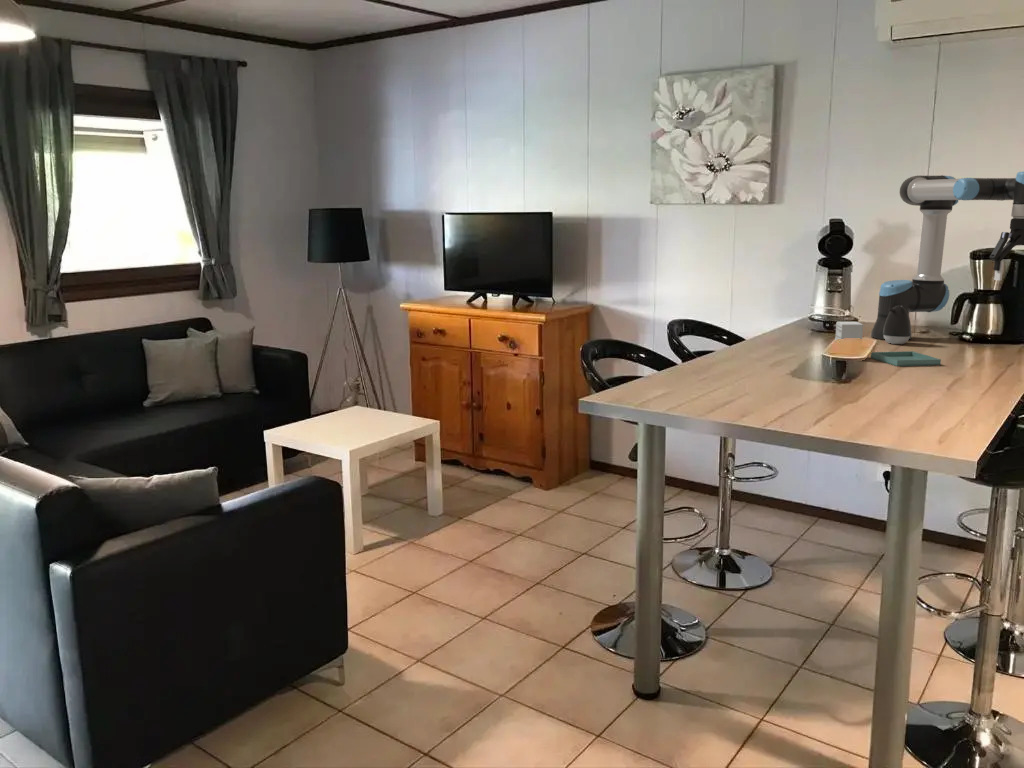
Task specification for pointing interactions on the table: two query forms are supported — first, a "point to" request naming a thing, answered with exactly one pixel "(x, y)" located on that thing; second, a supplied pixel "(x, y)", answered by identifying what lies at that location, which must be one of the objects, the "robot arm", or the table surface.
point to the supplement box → (848, 330)
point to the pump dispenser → (897, 326)
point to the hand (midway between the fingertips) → (1015, 280)
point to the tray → (905, 358)
